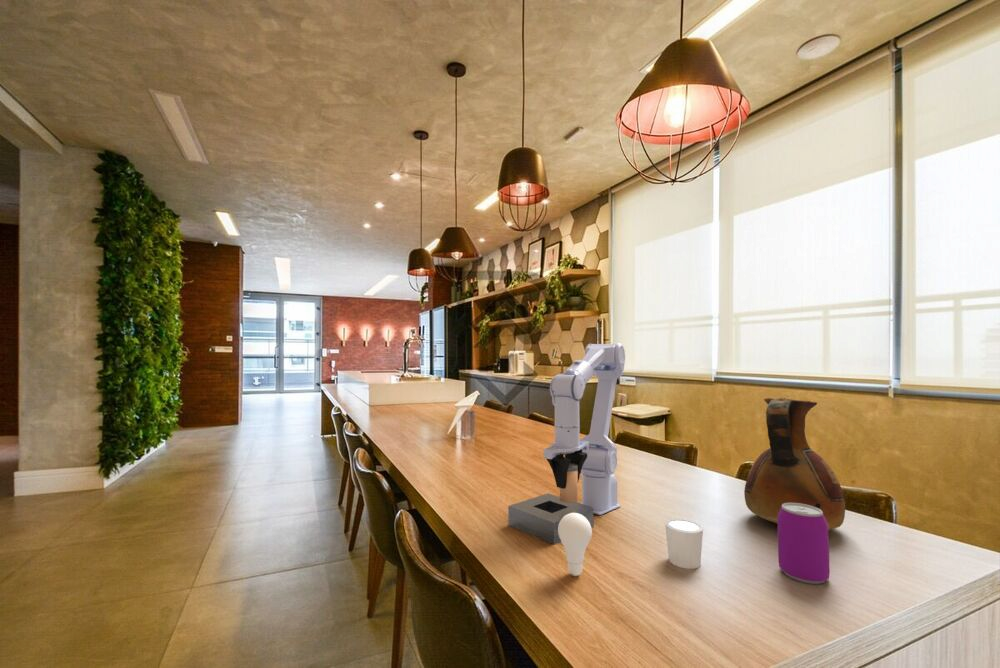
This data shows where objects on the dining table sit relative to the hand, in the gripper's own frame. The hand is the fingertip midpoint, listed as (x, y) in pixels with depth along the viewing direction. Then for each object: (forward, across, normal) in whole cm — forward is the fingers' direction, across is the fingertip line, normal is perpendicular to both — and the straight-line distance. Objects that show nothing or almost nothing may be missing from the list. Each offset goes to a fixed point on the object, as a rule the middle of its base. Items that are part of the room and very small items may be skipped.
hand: (567, 485), depth 101 cm
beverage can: (+10, -15, +42) cm, 46 cm away
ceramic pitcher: (+10, -41, +35) cm, 55 cm away
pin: (+3, 0, 0) cm, 3 cm away
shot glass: (+10, -4, +25) cm, 28 cm away
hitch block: (+10, +1, -4) cm, 11 cm away
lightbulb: (+10, +16, +14) cm, 23 cm away
